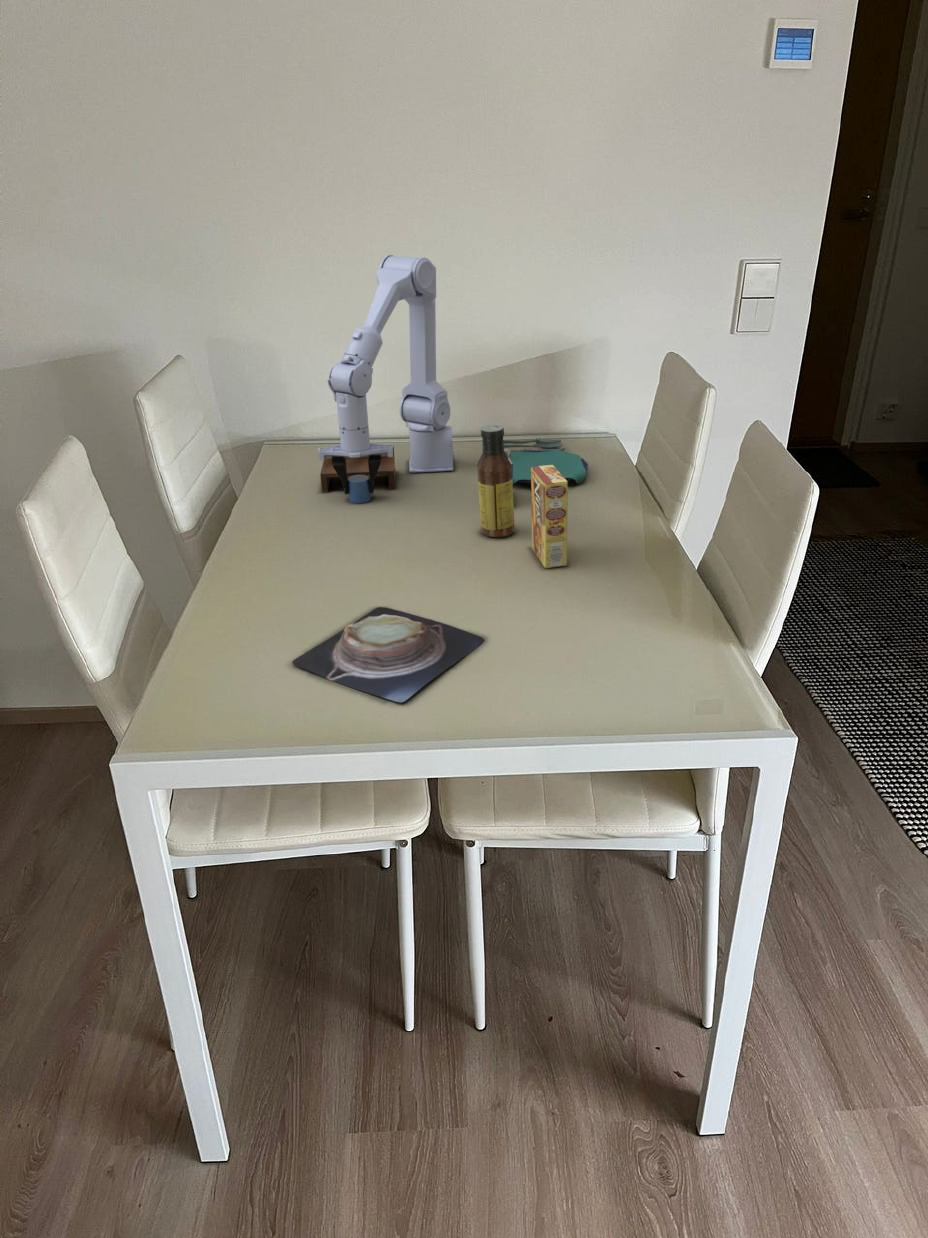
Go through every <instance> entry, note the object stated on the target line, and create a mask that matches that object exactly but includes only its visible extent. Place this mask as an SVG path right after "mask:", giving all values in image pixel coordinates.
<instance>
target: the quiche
mask: <svg viewBox="0 0 928 1238" xmlns="http://www.w3.org/2000/svg"><path fill="white" fill-rule="evenodd" d="M484 641H485V638H484V637H483V636H479V635H478V634H474V633H472V632H469V631H466V630H464V629H461V628H458V627H456V626H453V625H450V624H447V623H444V622H440V621H437V620H433V619H430V618H426V617H423V616H420V615H417V614H412V613H409V612H405V611H401V610H397V609H395V608H394V609H393V608H390V607H385V606H378V607H376V608H374V609H372V610H371V611H369V612H368V613H366V614H364V615H363V616H362V617H359V619H358V620H356V621H354V622H353V623H350V624H349V623H348V625H346V626H345V628H344V629H342V630H340V631H338V632H337V633H335V634H333V635H332V636H330V637H328V639H325V640H324V641H322V642H321V643H319V644H318V645H316V646H314V647H312V648H311V649H309V650H307V651H306V652H304V653H303V654H301V655H299V656H298V657H296V658H294V659H293V660H292V662H291V663H292V664H293V665H294V666H296V667H298V668H300V669H304V670H306V671H309V672H311V673H314V674H315V675H318V676H320V677H321V678H325V679H326V680H329V681H332V682H334V683H336V684H339V685H343V686H346V687H348V688H351V689H354V690H358V691H361V692H364V693H367V694H370V695H374V696H376V697H380V698H383V699H386V700H390V701H393V702H397V703H404V702H406V701H408V699H410V698H411V697H412V696H414V694H416V693H417V692H418V691H420V690H421V689H422V688H423V687H425V686H426V685H427V684H428V683H430V682H431V681H432V680H434V679H435V678H437V677H438V676H439V675H441V674H442V673H444V672H445V671H446V670H447V669H449V668H451V667H452V666H453V665H455V664H456V663H458V662H459V661H461V660H462V659H464V658H465V657H466V656H467V655H469V654H470V653H471V652H473V651H475V649H477V648H478V647H479V646H480V645H481V644H483V643H484Z"/></svg>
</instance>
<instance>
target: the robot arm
mask: <svg viewBox="0 0 928 1238" xmlns="http://www.w3.org/2000/svg"><path fill="white" fill-rule="evenodd" d="M375 277H376V281H377V288H376V291H375V295H374V296H373V299H372V302H371V305H370V308H369V311H368V314H367V316H366V318H365V321H364V324H363V326H360V327H356V328H355V330H354V331H353V334H352V336H351V338H350V341H349V343H348V345H347V347H346V349H345V351H344V353H343V356H342V358H341V360H340V362H338V363H336V364H335V365H334V366H332V368H331V369H330V371H329V375H328V380H327V385H328V388H329V390H330V391H331V392H332V395H333V401H335V403H336V410H337V420H338V430H339V441H340V444H339V445H333V446H327V447H318V449H317V450H318V451H317V452H318V461H324V460H325V459H332V466H333V468H334V469H335V471H336V473H337V474H338V476H339V477H338V478H339V480H340V483H341V485H342V487H343V488H342V489H343V490H344V495H349V490H348V481H347V479H348V478H349V477H348V476H347V469H346V458H359V457H369V459H368V466H369V475H368V476H369V478H370V493H371V494H374V492H375V481H376V478H377V475H376V474H377V471H378V469H379V466H380V463H381V457H382V456H388V457H393V446H394V445H393V444H380V443H379V444H377V443H371V441H370V428H369V427H370V426H369V416H368V402H367V401H368V400H367V393H368V392H369V391H370V390H371V388H372V383H373V374H374V373H373V372H374V368H373V366H374V363H375V361H376V360H377V358H378V355H379V352H380V350H381V348H382V346H383V338H382V335H381V333H382V332H383V330H384V328H385V326H386V324H387V322H388V320H389V319H390V317H391V315H392V314H393V312H394V310H395V308H396V306H397V305H398V303H399V302H400V301H403V300H404V301H406V303H407V304H408V316H409V317H408V318H409V320H408V321H409V366H410V367H409V368H410V382H409V383H408V384H406V385H405V386H404V387H403V388H402V389H401V400H400V402H399V416H400V418H401V420H402V421H403V422H405V427H406V428H408V435H409V436H408V438H409V451H410V458H409V459H408V462H409V463H408V466H409V467H408V470H409V471H408V472H409V473H411V474H412V473H413V474H414V473H431V472H432V473H433V472H453V471H454V460H455V451H454V448H453V429H452V426H451V425H447V424H448V422H449V419H450V417H451V406H450V402H449V398H448V397H449V396H448V391H447V390H446V388H444V387H443V386H442V385H441V384H440V383H439V381H438V380H437V329H436V327H437V326H436V325H437V324H436V321H437V320H436V315H437V314H436V313H437V311H436V299H437V267H436V266H435V265H434V263H433V262H432V261H431V260H430V259H429V258H427V257H425V256H424V257H423V256H422V257H412V256H411V257H409V256H398V255H397V256H396V255H392V254H387V255H385V256H384V257H383V258H382V259H381V261H380V264H379V267H378V270H377V271H376V276H375Z"/></svg>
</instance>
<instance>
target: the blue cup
mask: <svg viewBox="0 0 928 1238" xmlns="http://www.w3.org/2000/svg"><path fill="white" fill-rule="evenodd" d="M347 478H348V479H347V481H348V490H349V494H348V501H349V502H350V503H352V504H366V503H368V502H370V501H372V493H370V475H368V476H366V475H353V476H348V477H347Z"/></svg>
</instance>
